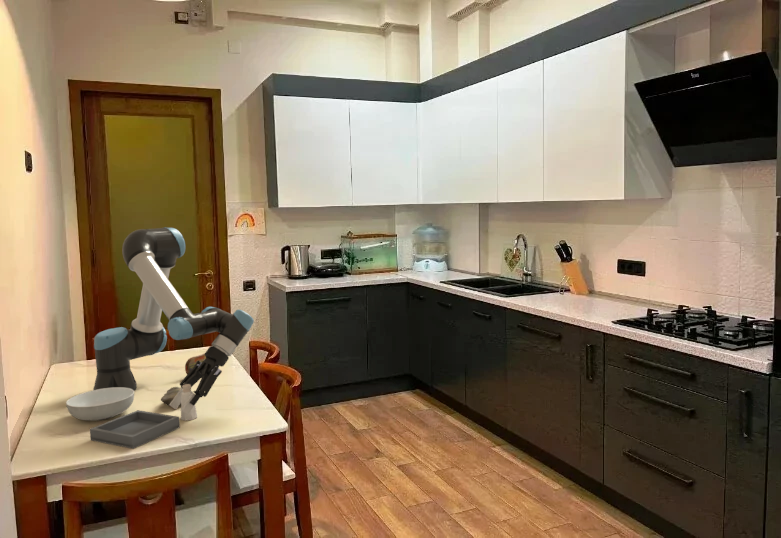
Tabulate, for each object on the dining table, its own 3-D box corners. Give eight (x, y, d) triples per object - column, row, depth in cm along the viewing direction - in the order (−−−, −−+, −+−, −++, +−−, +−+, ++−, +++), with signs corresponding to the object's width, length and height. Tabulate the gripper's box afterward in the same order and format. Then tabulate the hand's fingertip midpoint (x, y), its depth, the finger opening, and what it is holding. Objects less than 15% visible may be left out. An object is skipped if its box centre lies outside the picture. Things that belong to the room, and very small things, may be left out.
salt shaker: (184, 415, 208) (182, 382, 207) (200, 414, 207) (197, 382, 206) (177, 420, 202) (174, 387, 201) (193, 420, 202) (191, 387, 201)
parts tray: (90, 440, 188) (89, 429, 188) (138, 420, 204) (137, 410, 204) (133, 448, 180) (132, 437, 180) (179, 427, 196) (179, 416, 196)
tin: (189, 380, 250) (188, 359, 249) (184, 379, 252) (182, 358, 251) (218, 370, 263) (216, 351, 262) (213, 369, 265) (211, 350, 264)
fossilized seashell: (199, 396, 222) (190, 380, 220) (181, 415, 213) (171, 398, 211) (177, 399, 227) (168, 383, 225) (158, 417, 218) (149, 401, 216)
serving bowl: (104, 403, 224) (102, 384, 223) (149, 409, 216) (147, 389, 215) (52, 423, 205) (50, 403, 204) (100, 430, 197) (98, 409, 196)
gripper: (243, 362, 206) (201, 422, 197) (213, 352, 221) (172, 409, 212) (227, 349, 202) (183, 410, 193) (198, 340, 217) (156, 397, 207)
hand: (178, 409), depth 202 cm, fingers open, 8 cm apart
